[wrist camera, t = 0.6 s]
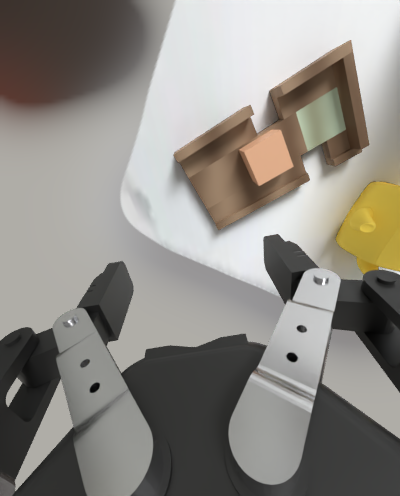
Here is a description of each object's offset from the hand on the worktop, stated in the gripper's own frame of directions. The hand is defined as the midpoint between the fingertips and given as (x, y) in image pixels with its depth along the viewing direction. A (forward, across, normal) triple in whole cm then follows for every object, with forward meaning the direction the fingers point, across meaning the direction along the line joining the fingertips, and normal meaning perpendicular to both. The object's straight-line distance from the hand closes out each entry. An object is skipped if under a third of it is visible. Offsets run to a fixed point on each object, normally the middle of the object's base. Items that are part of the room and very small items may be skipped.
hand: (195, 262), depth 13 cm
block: (+20, -10, -2) cm, 22 cm away
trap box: (+21, -10, -2) cm, 23 cm away
